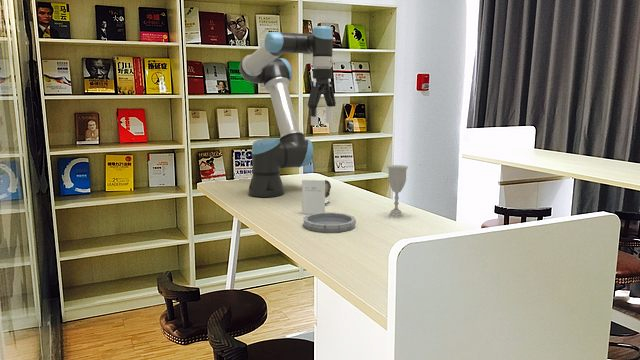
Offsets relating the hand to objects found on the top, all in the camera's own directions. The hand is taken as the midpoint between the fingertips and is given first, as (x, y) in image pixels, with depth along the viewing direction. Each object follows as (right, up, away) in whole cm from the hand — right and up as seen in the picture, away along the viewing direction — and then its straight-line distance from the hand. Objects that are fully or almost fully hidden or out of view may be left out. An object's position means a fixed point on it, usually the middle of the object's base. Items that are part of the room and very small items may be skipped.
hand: (322, 124), depth 207 cm
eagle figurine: (0, -31, +1) cm, 31 cm away
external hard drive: (-3, -34, -14) cm, 37 cm away
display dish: (+2, -37, -30) cm, 48 cm away
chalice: (+26, -35, -18) cm, 47 cm away
